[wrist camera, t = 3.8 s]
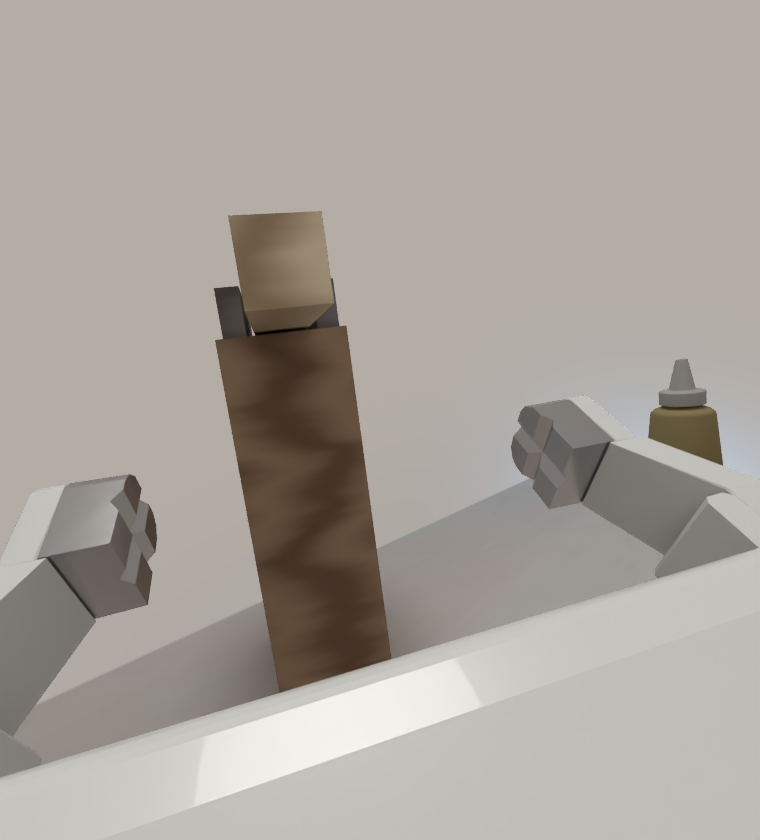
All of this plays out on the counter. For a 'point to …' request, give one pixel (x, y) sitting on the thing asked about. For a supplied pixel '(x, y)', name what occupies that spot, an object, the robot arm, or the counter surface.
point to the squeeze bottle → (686, 417)
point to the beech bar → (282, 269)
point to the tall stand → (304, 492)
